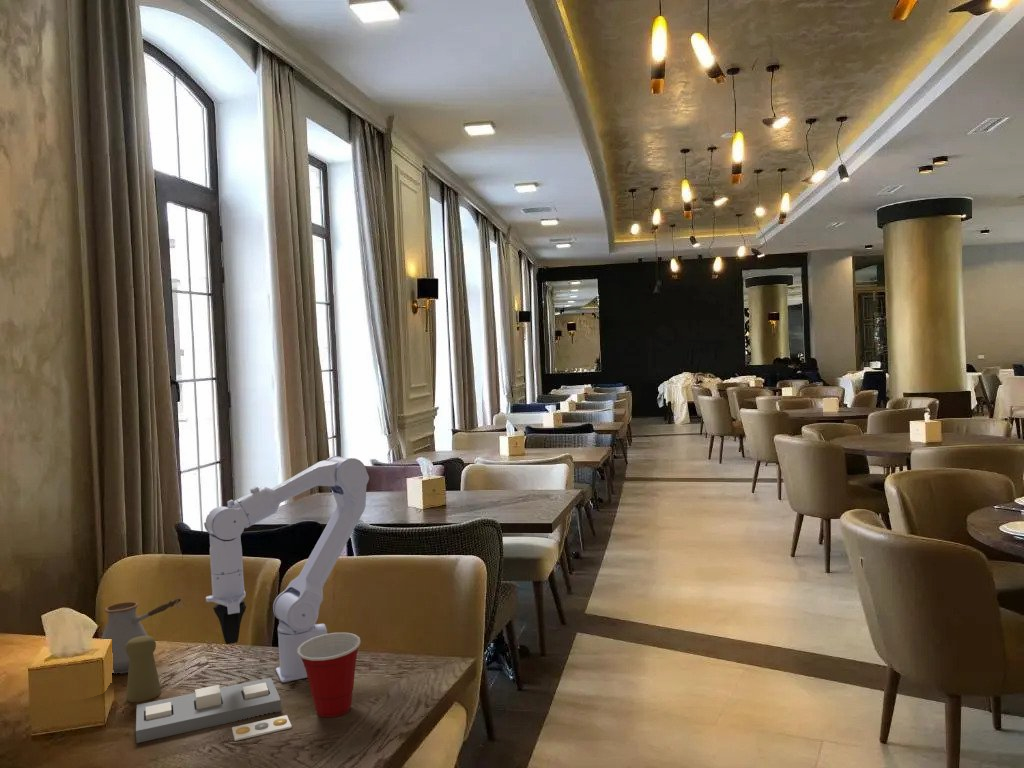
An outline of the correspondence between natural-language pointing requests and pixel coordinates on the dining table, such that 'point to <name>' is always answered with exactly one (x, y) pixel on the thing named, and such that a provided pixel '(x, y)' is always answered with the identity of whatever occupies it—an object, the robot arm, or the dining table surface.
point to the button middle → (208, 697)
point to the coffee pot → (126, 629)
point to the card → (261, 727)
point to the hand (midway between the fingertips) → (231, 642)
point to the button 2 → (255, 691)
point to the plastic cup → (331, 671)
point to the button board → (205, 711)
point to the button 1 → (158, 711)
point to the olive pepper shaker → (142, 670)
